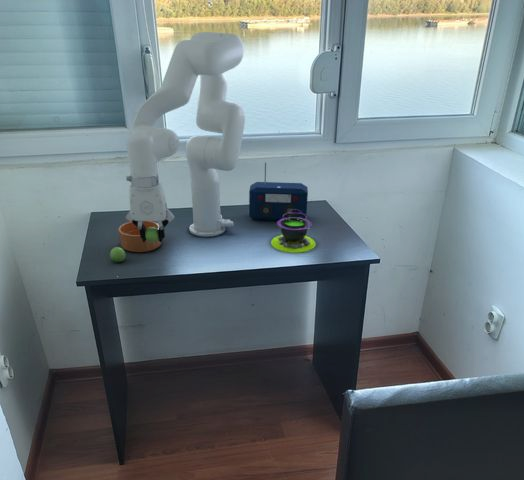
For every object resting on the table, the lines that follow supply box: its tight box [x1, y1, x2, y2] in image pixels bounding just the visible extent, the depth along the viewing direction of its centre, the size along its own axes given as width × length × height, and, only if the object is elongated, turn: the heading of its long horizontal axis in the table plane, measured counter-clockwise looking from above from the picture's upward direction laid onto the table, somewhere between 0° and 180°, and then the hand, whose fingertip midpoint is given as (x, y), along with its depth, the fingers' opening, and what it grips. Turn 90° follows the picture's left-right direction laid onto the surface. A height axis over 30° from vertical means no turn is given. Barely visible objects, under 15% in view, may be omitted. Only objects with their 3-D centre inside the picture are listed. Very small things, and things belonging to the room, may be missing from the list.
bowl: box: [118, 221, 163, 253], centre depth 170 cm, size 13×13×6 cm
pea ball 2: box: [145, 227, 159, 242], centre depth 157 cm, size 5×5×5 cm
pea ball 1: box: [109, 246, 126, 263], centre depth 160 cm, size 5×5×5 cm
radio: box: [248, 162, 309, 222], centre depth 188 cm, size 21×9×20 cm, turn 87°
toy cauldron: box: [270, 209, 316, 254], centre depth 172 cm, size 15×15×11 cm
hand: (153, 239), depth 158 cm, fingers closed on pea ball 2, 4 cm apart
